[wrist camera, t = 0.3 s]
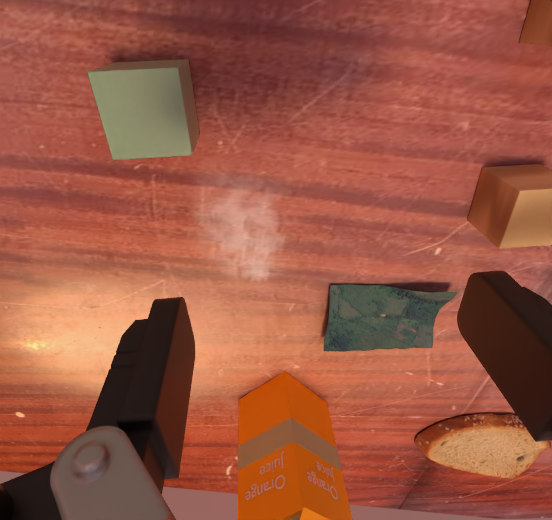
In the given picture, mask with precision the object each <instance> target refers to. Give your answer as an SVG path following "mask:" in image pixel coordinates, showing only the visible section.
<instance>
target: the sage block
mask: <svg viewBox="0 0 552 520" xmlns="http://www.w3.org/2000/svg"><path fill="white" fill-rule="evenodd" d="M87 73H88V77H89V80H90V83H91V87H92V90H93V94H94V97H95V100H96V104H97V107H98V111H99V114H100V118H101V121H102V124H103V128H104V131H105V135H106V138H107V142H108V145H109V148H110V152H111V155H112V159H113V160H124V159H141V158H158V157H174V156H191V155H193V152H194V149H195V146H196V144H197V141H198V138H199V135H200V132H199V125H198V118H197V112H196V105H195V98H194V92H193V85H192V78H191V72H190V65H189V59H175V60H154V61H134V62H114V63H111V64H108V65H105V66H102V67H100V68H97V69H94V70H91V71H88V72H87Z"/></svg>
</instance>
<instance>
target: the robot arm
mask: <svg viewBox="0 0 552 520" xmlns="http://www.w3.org/2000/svg"><path fill="white" fill-rule="evenodd" d="M457 322H458V327H459V330H460V333H461V335H462V336H463V338H464V339H465V341H466V342H467V343H468V345H469V346H470V348H471V349H472V351H473V352H474V354H475V355H476V357H477V358H478V359H479V361H480V362H481V364H482V365H483V367H484V368H485V370H486V371H487V372H488V374H489V375H490V377H491V378H492V380H493V381H494V383H495V384H496V385H497V387H498V388H499V390H500V391H501V393H502V394H503V396H504V397H505V398H506V400H507V401H508V403H509V404H510V406H511V407H512V409H513V410H514V411H515V413H516V414H517V416H518V417H519V419H520V420H521V422H522V423H523V424H524V426H525V427H526V429H527V430H528V432H529V433H530V435H531V436H532V438H533V439H534V440H535V442H539V441H548V440H552V305H551V304H550V303H549V302H548V301H547V300H546V299H545V298H543V297H541V296H540V295H538V294H536V293H534V292H532V291H531V290H529V289H527V288H525V287H521V286H520V285H519V284H518V283H517V282H516V281H515V280H514V279H513V278H512V277H511V276H510V275H509V274H508V273H506V272H505V271H489V272H477V273H473V274H471V275H470V277H469V279H468V282H467V285H466V288H465V292H464V295H463V298H462V301H461V304H460V308H459V311H458V315H457ZM194 361H195V341H194V335H193V331H192V327H191V323H190V319H189V315H188V311H187V306H186V303H185V300H184V298H183V297H177V298H166V299H155V300H154V302H153V304H152V307H151V310H150V314H149V317H148V319H143V320H135V321H134V323H133V324H132V325H131V326H130V327H129V328H128V329H127V330H126V332H125V333H124V334H123V335H122V337H121V340H120V343H119V345H118V348H117V351H116V355H115V356H114V359H113V361H112V364H111V369H109V372H108V375H107V377H106V380H105V383H104V385H103V388H102V391H101V393H100V396H99V399H98V401H97V404H96V407H95V409H94V412H93V415H92V417H91V420H90V423H89V425H88V427H87V429H86V431H85V432H84V433H82V434H80V435H79V436H77V437H76V438H74V439H73V440H72V441H71V442H70V443H69V444H67V446H66V447H65V448H64V449H63V450H62V451H61V453H60V454H59V456H58V457H57V459H56V461H54V462H52V463H50V464H48V465H46V466H44V467H41V468H39V469H36V470H34V471H32V472H29V473H27V474H24V475H22V476H19V477H17V478H15V479H12V480H10V481H7V482H4V483H2V484H0V520H176V519H175V517H174V515H173V514H172V512H171V510H170V509H169V507H168V505H167V504H166V502H165V500H164V498H163V497H162V490H163V484H164V479H171V478H179V470H180V463H181V456H182V448H183V441H184V434H185V427H186V419H187V412H188V405H189V398H190V390H191V383H192V376H193V369H194Z"/></svg>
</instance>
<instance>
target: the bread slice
mask: <svg viewBox="0 0 552 520" xmlns="http://www.w3.org/2000/svg"><path fill="white" fill-rule="evenodd" d="M415 444H416V445H417V446H418V447H419V448H420V449H421V451H422V452H423V453H424V454H425V455H426V456H427V457H428V458H429V459H430V460H432V461H434V462H437V463H440V464H441V465H444V466H449V467H451V468H453V469H458V470H462V471H466V472H471V473H477V474H483V475H490V476H497V477H500V478H510V479H513V478H514V477H515V476H518V477H519V475H520V474H521V473H522V472H524V471H525V470H527V469H528V467H529V466H530V465H531V464H533V463H534V462H535V461H536V459H537V458H538V456H539V455H540V454H541V452H542V451H543V450H545V449H547V448H551V441H550V440H548V441H539V442H535V440H534V439H533V438H532V436H531V435H530V433H529V432H528V430H527V429H526V427H525V426H524V424H523V423H522V422H521V420H520V419H519V417H518V416H516V415H512V414H504V415H496V414H492V413H485V414H474V415H467V416H460V417H456V418H452V419H448V420H446V421H442V422H439V423H437V424H435V425H432V426H430V427H429V428H427V429H425V430H424V431H422V432H421V433H419V434H418V435H417V437H416V439H415Z"/></svg>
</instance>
